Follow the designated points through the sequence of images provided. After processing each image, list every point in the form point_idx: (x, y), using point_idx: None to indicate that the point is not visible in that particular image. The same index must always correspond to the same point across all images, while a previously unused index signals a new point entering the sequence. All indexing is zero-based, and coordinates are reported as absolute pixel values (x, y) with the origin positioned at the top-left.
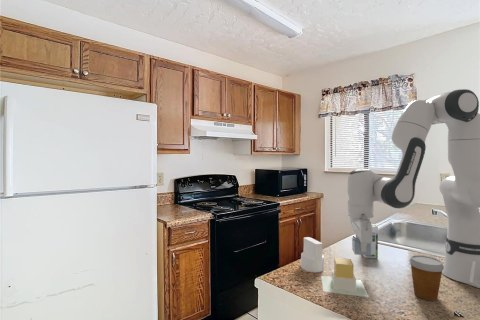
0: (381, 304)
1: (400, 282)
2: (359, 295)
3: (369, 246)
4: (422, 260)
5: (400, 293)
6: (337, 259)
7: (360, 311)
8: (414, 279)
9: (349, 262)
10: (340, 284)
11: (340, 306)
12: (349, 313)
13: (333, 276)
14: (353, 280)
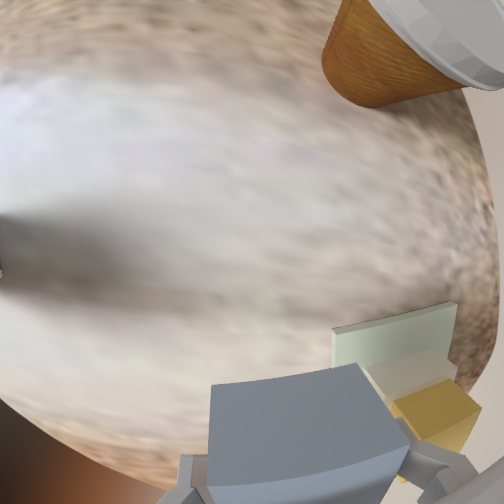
0: (465, 263)
1: (253, 130)
2: (450, 333)
3: (389, 426)
4: (466, 9)
5: (381, 167)
6: None
7: (488, 320)
8: (422, 95)
9: (456, 429)
10: None
11: (471, 365)
12: (492, 342)
13: None
14: (453, 374)
